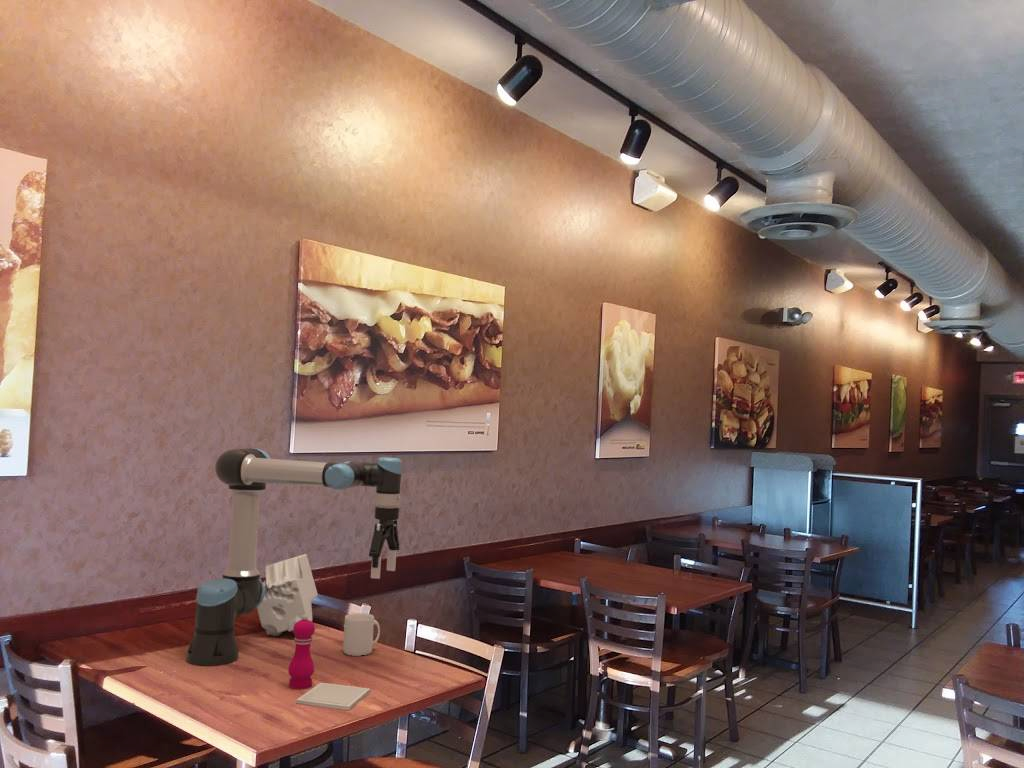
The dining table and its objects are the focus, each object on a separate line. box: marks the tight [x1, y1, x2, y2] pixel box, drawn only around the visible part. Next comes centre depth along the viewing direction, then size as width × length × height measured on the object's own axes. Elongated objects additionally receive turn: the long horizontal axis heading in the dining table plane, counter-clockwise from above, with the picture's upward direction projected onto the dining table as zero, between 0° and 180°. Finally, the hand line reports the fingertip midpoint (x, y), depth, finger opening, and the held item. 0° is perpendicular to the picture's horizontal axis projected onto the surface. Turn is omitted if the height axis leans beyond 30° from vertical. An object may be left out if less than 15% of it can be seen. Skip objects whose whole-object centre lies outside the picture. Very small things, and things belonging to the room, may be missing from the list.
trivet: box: [295, 682, 371, 711], centre depth 220 cm, size 15×15×1 cm
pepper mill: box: [287, 614, 316, 690], centre depth 229 cm, size 7×7×20 cm
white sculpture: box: [256, 553, 319, 637], centre depth 283 cm, size 20×16×25 cm
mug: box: [342, 612, 381, 657], centre depth 264 cm, size 10×12×12 cm
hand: (383, 574), depth 253 cm, fingers open, 13 cm apart
